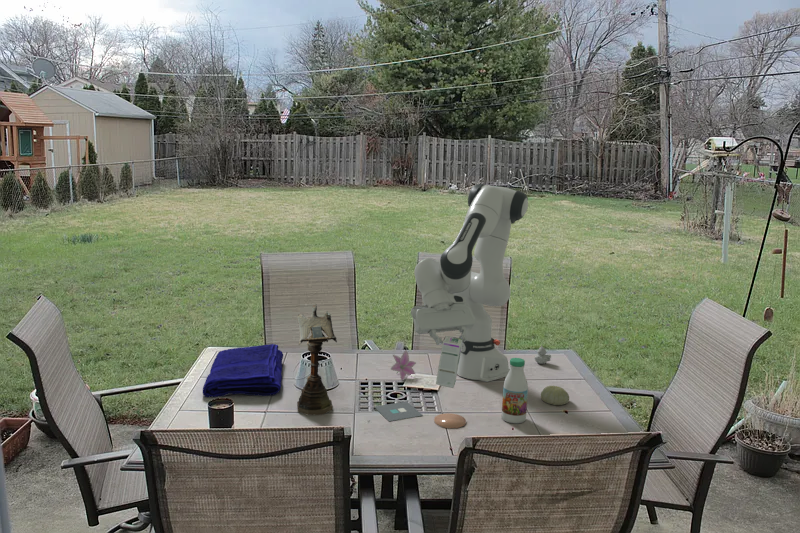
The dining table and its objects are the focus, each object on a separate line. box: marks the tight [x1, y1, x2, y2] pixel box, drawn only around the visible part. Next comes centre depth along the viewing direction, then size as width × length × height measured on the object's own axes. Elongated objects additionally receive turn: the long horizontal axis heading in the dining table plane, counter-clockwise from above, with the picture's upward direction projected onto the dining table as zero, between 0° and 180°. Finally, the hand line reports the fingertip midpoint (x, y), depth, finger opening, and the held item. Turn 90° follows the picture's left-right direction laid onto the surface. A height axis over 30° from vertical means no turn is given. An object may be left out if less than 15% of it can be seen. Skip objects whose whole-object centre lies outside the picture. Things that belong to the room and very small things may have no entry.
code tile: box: [374, 400, 424, 422], centre depth 209 cm, size 12×12×1 cm
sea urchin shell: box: [540, 385, 570, 406], centre depth 221 cm, size 9×8×8 cm
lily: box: [390, 349, 417, 381], centre depth 240 cm, size 11×11×9 cm
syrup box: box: [435, 335, 462, 389], centre depth 198 cm, size 6×6×14 cm
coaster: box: [433, 412, 467, 429], centre depth 202 cm, size 10×10×1 cm
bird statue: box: [296, 303, 338, 416], centre depth 204 cm, size 17×13×35 cm
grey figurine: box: [534, 344, 552, 365], centre depth 258 cm, size 5×7×8 cm
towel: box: [202, 343, 284, 398], centre depth 233 cm, size 26×36×9 cm
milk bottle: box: [501, 357, 529, 424], centre depth 204 cm, size 8×8×20 cm
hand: (451, 342), depth 198 cm, fingers closed on syrup box, 7 cm apart
